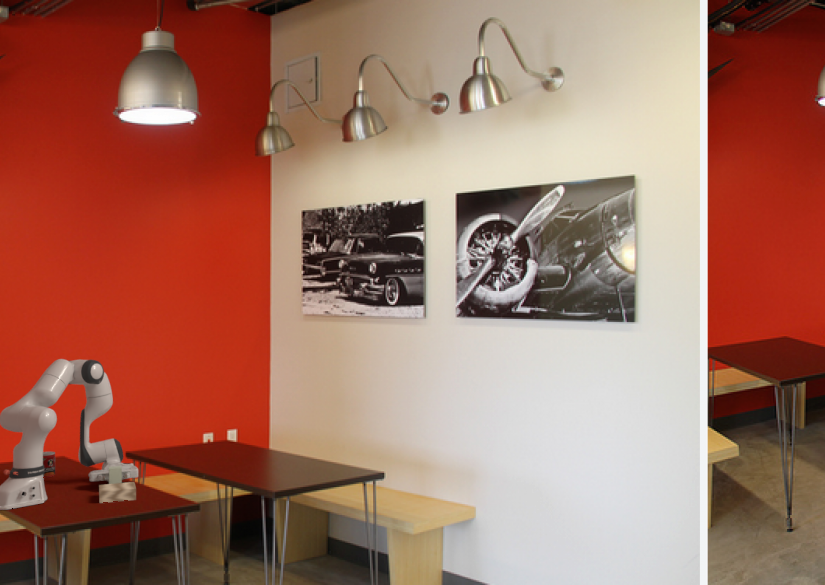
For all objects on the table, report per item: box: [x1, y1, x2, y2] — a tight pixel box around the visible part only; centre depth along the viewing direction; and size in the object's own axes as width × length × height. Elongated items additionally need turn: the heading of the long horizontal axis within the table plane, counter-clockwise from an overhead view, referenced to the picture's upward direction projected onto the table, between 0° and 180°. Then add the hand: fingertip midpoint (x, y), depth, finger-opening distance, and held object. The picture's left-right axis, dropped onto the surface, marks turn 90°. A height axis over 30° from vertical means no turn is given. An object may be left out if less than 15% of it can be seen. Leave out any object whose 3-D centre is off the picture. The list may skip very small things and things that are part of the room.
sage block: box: [108, 466, 123, 484], centre depth 345 cm, size 5×5×10 cm
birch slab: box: [98, 481, 137, 504], centre depth 331 cm, size 14×14×5 cm
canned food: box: [43, 451, 56, 478], centre depth 379 cm, size 8×8×11 cm
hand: (114, 477), depth 346 cm, fingers open, 8 cm apart
